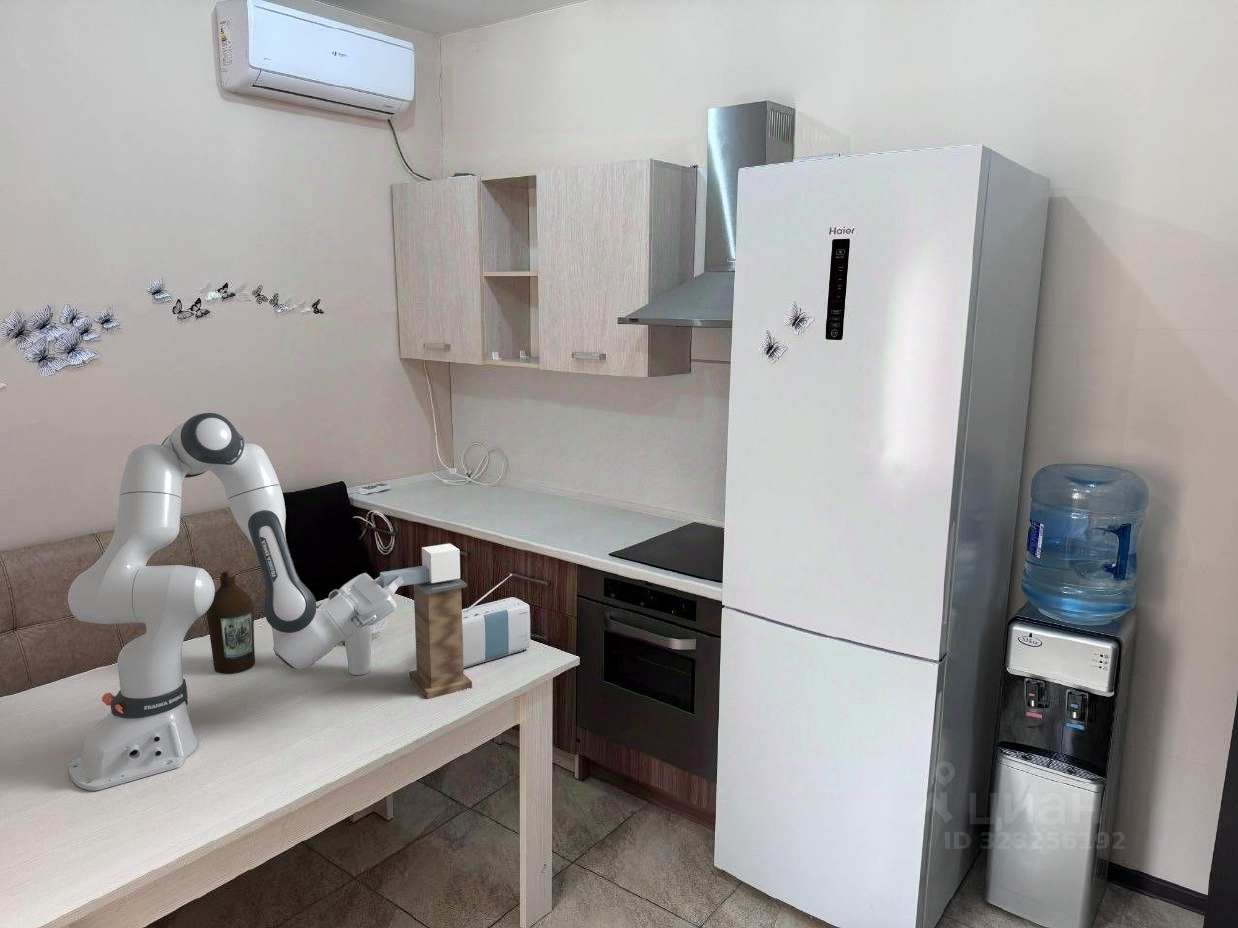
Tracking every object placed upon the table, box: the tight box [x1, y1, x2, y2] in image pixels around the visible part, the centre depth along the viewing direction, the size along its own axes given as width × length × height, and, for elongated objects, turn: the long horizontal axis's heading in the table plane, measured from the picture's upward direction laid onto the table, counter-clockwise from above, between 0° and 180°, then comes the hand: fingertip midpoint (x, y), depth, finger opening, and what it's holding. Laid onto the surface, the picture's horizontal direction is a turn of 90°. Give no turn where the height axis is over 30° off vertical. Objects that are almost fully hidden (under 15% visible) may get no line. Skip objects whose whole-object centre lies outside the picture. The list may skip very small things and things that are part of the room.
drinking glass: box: [344, 625, 373, 676], centre depth 208 cm, size 7×7×15 cm
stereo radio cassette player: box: [462, 573, 531, 670], centre depth 217 cm, size 21×8×20 cm, turn 129°
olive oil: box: [205, 568, 256, 675], centre depth 209 cm, size 11×11×25 cm
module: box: [379, 543, 461, 588], centre depth 196 cm, size 18×6×7 cm, turn 123°
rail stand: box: [408, 577, 473, 700], centre depth 201 cm, size 11×13×26 cm
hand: (398, 575), depth 193 cm, fingers closed on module, 3 cm apart
